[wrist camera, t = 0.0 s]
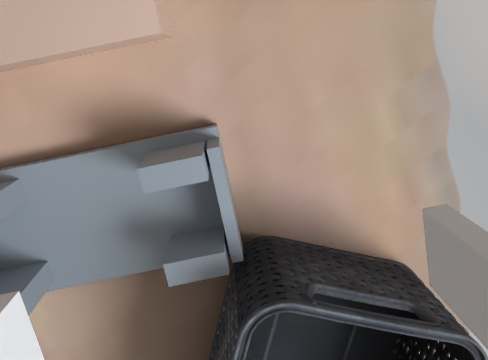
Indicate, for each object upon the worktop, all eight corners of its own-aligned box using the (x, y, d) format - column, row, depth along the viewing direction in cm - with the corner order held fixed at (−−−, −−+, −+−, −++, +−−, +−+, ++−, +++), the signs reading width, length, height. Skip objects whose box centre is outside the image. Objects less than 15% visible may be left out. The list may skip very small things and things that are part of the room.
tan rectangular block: (-73, 35, 39) (-158, 30, 30) (162, -13, 38) (146, -32, 30) (-56, 83, 40) (-132, 92, 31) (174, 37, 40) (161, 32, 31)
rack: (-46, 177, 42) (-101, 204, 34) (216, 124, 42) (216, 139, 34) (-1, 294, 45) (-43, 341, 38) (242, 245, 45) (247, 282, 38)
